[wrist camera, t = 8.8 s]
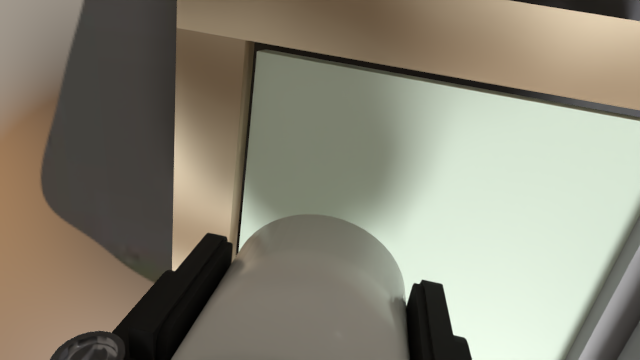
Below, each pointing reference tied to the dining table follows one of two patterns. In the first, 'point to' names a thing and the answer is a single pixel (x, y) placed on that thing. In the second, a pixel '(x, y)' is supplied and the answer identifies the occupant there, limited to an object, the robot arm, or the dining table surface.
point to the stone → (305, 298)
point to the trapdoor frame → (377, 47)
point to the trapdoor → (463, 198)
